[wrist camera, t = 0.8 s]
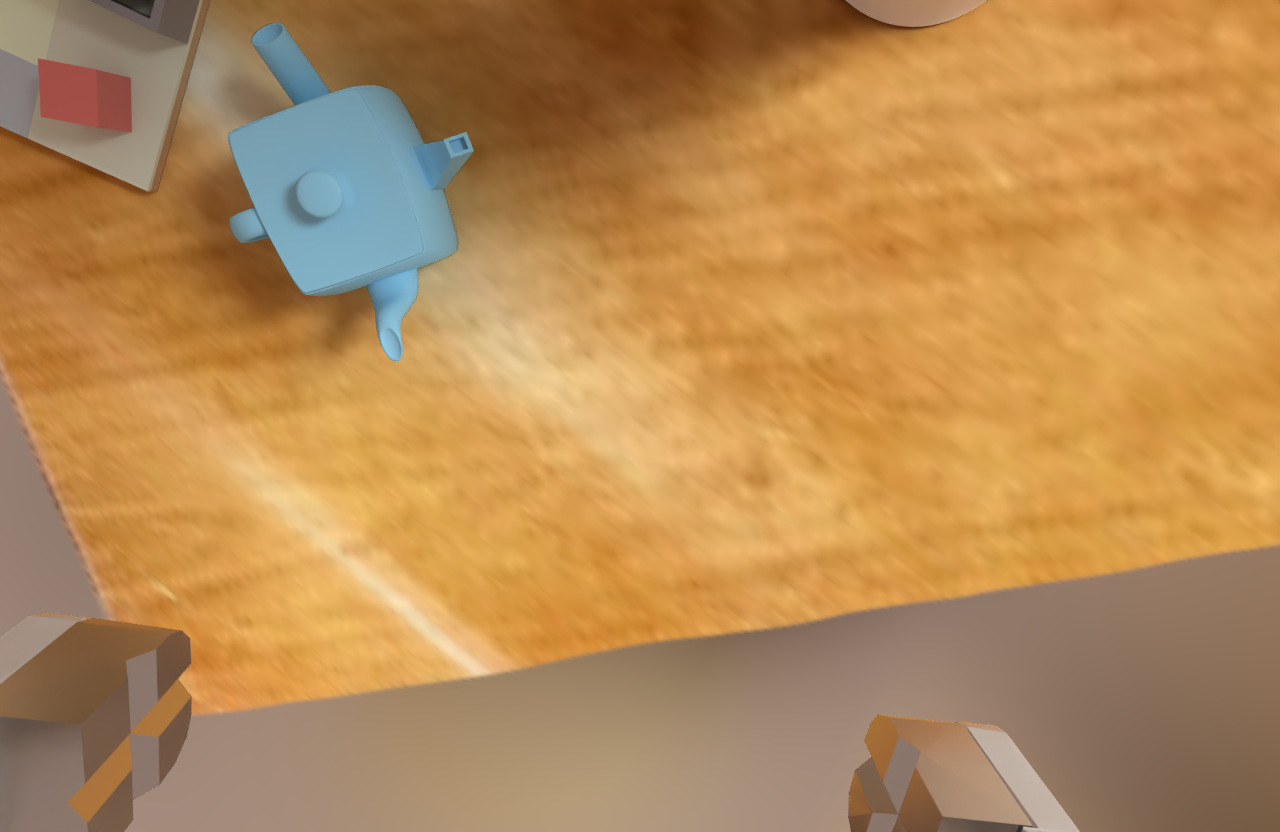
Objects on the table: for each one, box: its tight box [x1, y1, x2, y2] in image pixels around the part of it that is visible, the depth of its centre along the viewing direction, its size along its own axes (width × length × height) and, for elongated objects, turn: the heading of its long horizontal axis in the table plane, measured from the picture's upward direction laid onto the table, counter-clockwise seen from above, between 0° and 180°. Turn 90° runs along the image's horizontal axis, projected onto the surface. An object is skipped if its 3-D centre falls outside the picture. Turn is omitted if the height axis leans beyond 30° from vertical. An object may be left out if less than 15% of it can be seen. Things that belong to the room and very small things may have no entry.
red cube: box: [38, 58, 132, 132], centre depth 41 cm, size 3×3×3 cm
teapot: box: [228, 22, 474, 361], centre depth 41 cm, size 18×14×10 cm
